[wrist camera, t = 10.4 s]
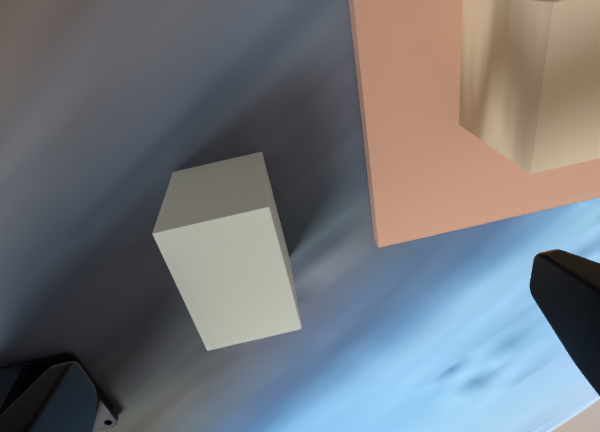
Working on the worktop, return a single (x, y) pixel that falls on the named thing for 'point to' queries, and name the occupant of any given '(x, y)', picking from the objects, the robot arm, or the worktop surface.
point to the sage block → (228, 251)
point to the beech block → (532, 79)
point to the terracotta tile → (436, 131)
